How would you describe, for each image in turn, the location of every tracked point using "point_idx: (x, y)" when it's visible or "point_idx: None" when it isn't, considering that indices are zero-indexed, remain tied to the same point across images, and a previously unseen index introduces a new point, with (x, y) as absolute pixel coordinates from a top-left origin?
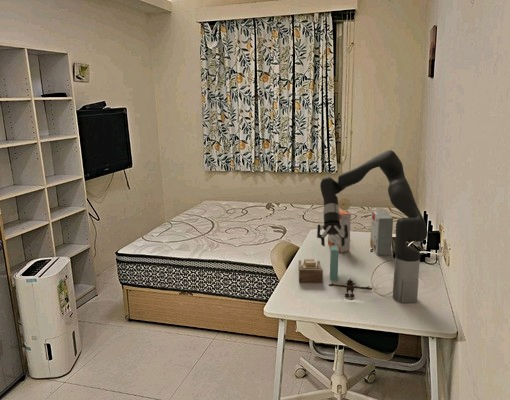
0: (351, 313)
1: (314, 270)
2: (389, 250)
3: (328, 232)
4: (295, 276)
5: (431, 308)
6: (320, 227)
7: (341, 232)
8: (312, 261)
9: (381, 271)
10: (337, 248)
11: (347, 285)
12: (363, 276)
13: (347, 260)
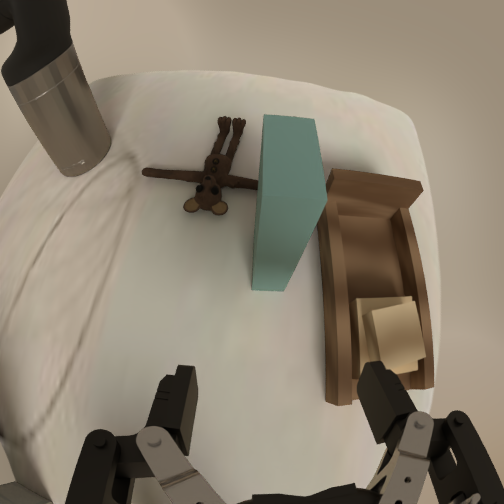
0: (241, 88)
1: (366, 173)
2: (7, 486)
3: (365, 489)
4: None
5: None
6: (478, 497)
7: (163, 483)
8: (388, 325)
9: (51, 347)
10: (269, 139)
11: (223, 173)
12: (127, 300)
13: None
